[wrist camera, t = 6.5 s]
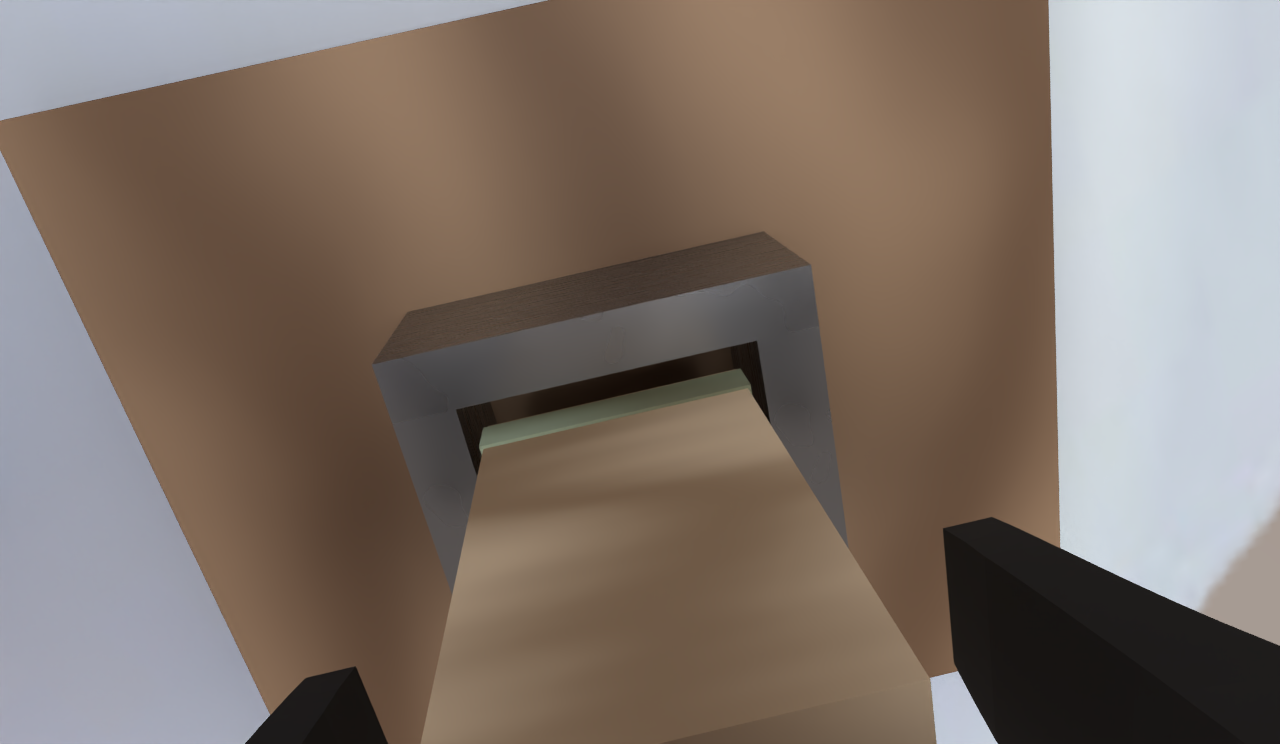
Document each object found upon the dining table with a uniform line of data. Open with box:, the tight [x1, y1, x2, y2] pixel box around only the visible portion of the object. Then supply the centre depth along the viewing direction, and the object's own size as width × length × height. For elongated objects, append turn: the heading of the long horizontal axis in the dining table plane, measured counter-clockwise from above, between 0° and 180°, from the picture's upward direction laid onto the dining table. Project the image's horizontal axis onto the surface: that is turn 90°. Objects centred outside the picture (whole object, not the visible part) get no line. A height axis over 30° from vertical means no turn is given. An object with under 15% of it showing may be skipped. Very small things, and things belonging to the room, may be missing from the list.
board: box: [0, 0, 1060, 744], centre depth 17 cm, size 18×16×1 cm
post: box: [421, 369, 936, 744], centre depth 10 cm, size 4×4×7 cm
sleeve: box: [372, 231, 849, 594], centre depth 15 cm, size 7×7×3 cm
